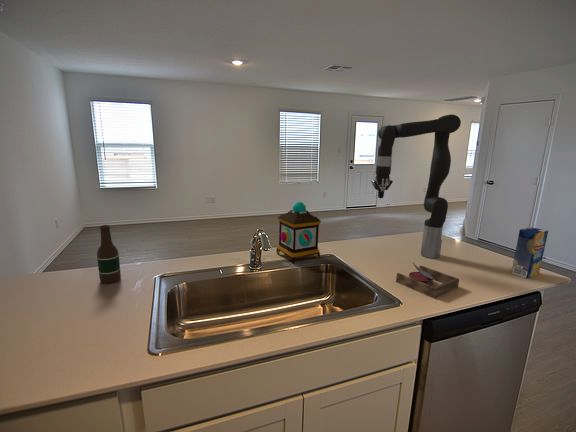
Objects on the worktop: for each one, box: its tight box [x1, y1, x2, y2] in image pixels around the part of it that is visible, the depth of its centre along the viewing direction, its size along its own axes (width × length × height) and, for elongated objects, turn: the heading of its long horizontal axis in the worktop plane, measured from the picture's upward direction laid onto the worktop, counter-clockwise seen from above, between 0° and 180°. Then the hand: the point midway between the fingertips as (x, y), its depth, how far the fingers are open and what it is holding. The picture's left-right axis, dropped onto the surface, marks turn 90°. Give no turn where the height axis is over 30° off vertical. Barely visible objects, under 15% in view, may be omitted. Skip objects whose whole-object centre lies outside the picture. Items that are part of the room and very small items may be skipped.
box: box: [395, 265, 460, 299], centre depth 131 cm, size 18×18×4 cm
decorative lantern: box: [275, 201, 322, 264], centre depth 160 cm, size 20×20×30 cm
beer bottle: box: [96, 224, 122, 285], centre depth 126 cm, size 8×8×24 cm
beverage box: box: [510, 227, 549, 279], centre depth 144 cm, size 7×11×22 cm, turn 118°
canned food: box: [408, 262, 434, 287], centre depth 134 cm, size 11×10×10 cm
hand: (380, 198), depth 161 cm, fingers closed
